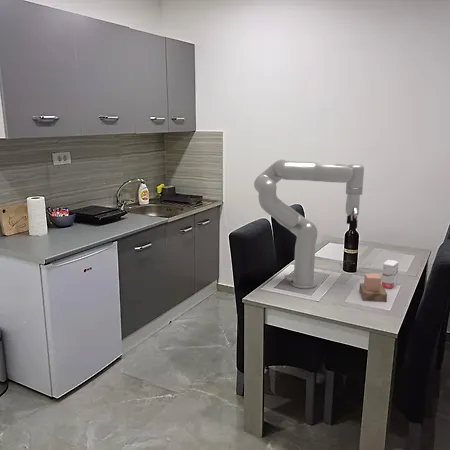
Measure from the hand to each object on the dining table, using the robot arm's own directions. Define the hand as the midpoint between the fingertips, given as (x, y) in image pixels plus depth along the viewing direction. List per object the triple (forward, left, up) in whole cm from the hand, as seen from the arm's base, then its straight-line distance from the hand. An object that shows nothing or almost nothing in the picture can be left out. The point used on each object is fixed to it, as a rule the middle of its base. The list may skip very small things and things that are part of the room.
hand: (351, 226), depth 212 cm
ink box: (+19, -3, -28) cm, 34 cm away
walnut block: (+9, -17, -29) cm, 35 cm away
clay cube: (+8, -17, -25) cm, 31 cm away
